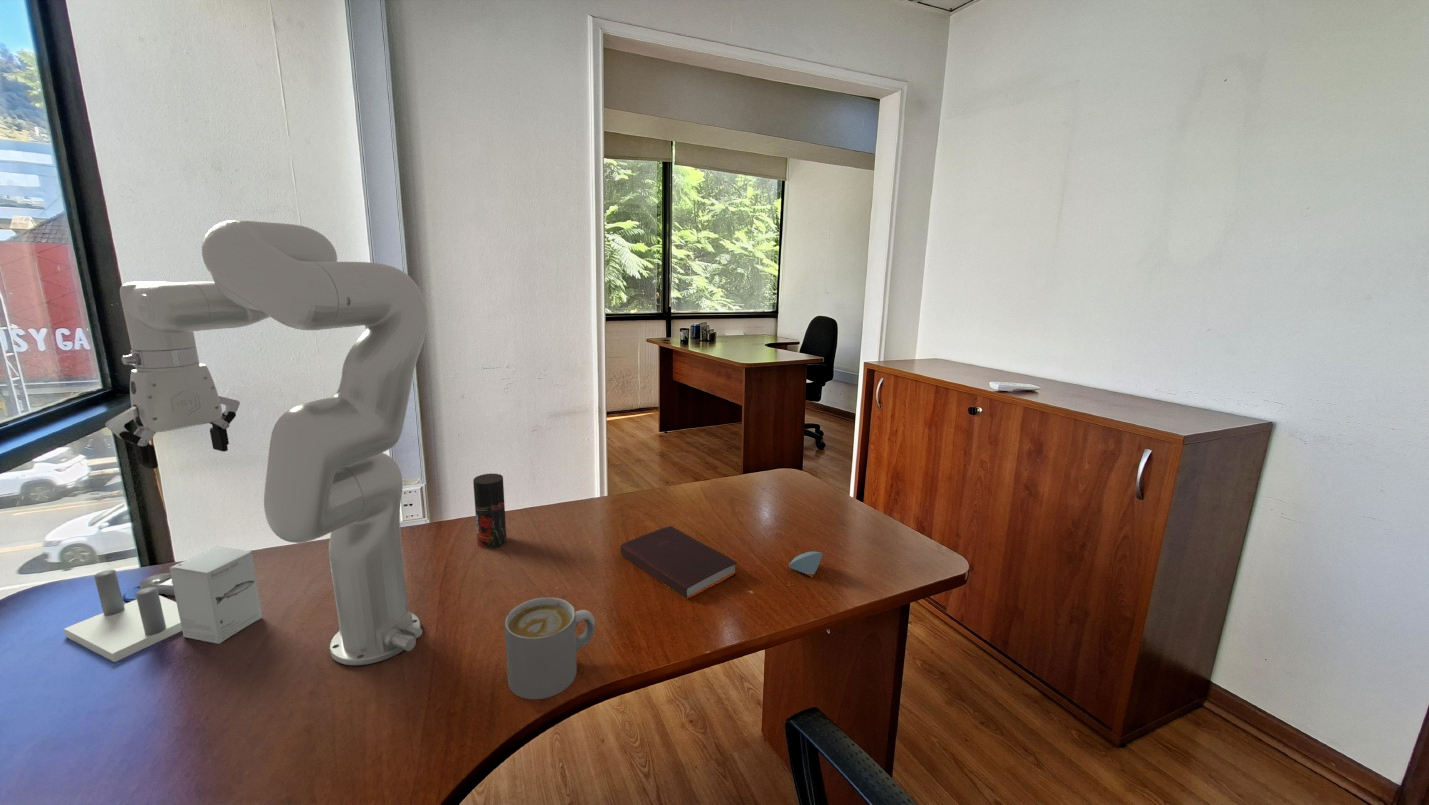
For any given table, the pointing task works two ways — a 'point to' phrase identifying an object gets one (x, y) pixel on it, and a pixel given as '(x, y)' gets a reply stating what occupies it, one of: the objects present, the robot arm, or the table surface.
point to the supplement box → (216, 593)
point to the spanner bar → (159, 583)
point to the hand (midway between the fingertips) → (187, 458)
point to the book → (678, 560)
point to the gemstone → (806, 562)
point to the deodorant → (490, 510)
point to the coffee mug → (544, 646)
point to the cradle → (125, 620)
